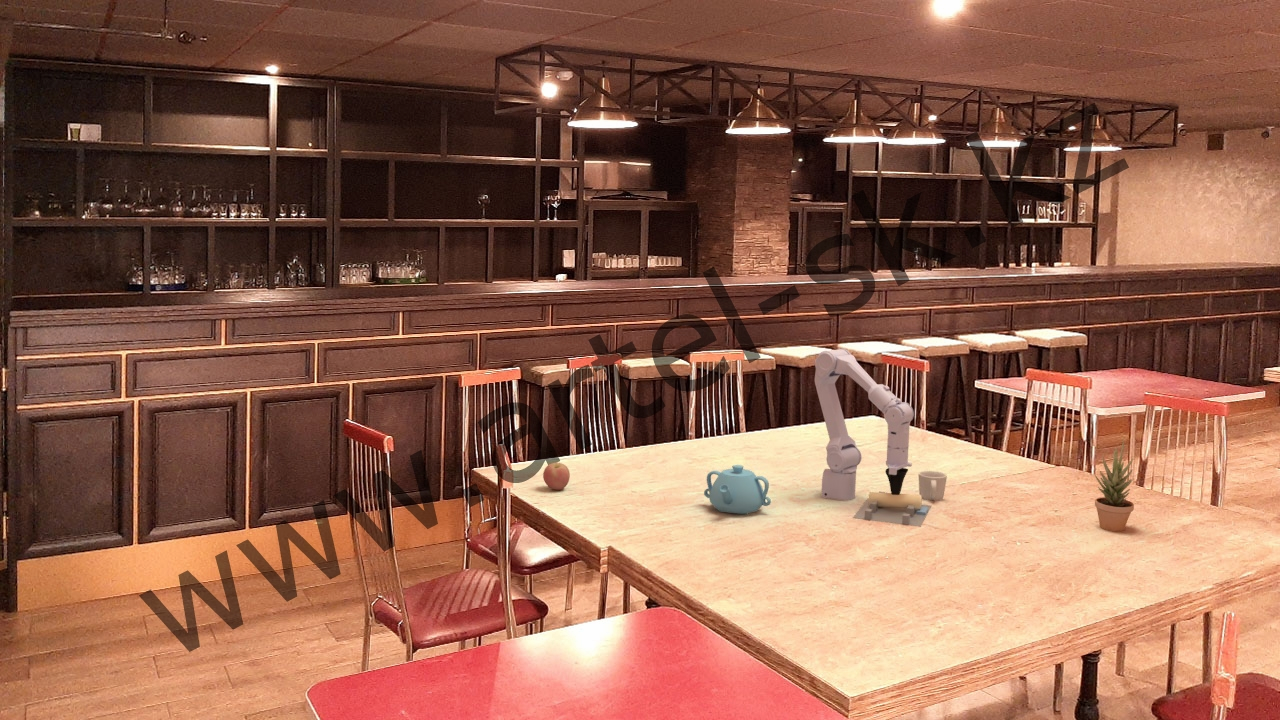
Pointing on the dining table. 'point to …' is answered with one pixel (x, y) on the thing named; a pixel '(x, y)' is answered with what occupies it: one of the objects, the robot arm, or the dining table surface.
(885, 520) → the board
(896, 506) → the tan tapered cylinder
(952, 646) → the dining table surface
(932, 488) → the cup
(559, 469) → the apple
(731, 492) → the teapot
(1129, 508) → the potted plant
